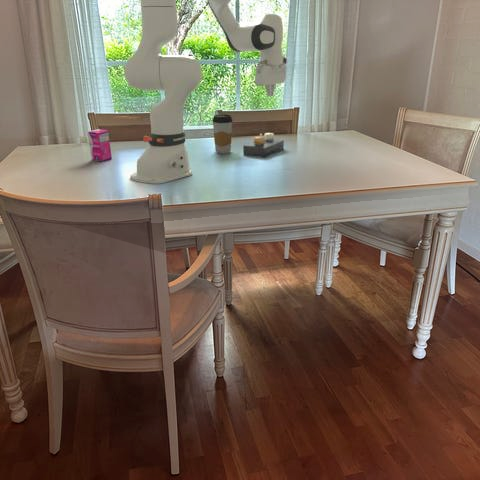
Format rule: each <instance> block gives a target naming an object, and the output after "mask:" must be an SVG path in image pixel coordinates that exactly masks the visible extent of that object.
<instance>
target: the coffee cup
mask: <svg viewBox="0 0 480 480" xmlns="http://www.w3.org/2000/svg"><path fill="white" fill-rule="evenodd" d="M233 121H234V120H233V118H232V115H231V114H224V113H222V114H213V117H212V121H211V122H212V125H213V127H212V128H213V137H214V138H213V141H214V146H215V147H214V149H215V153H216V154H223V155H225V154H229V153H231V148H232V135H233V133H232V132H233V131H232V129H233Z"/></svg>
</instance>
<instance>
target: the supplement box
mask: <svg viewBox="0 0 480 480" xmlns="http://www.w3.org/2000/svg"><path fill="white" fill-rule="evenodd" d="M87 137H88V144H89V152H90V156H91V161H93V162H94V161H95V162H101V163H103V161H104V162H107V161H109V160H112V159H113V156H112V150H111V143H110V135H109V130H108V129H107V130H106V129H98V128H97V129H94V130H90V131H87Z"/></svg>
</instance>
